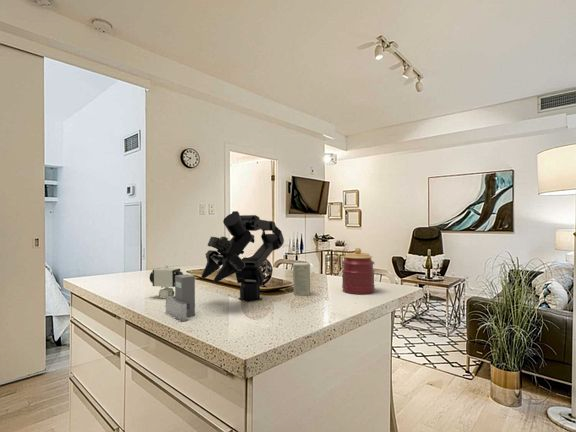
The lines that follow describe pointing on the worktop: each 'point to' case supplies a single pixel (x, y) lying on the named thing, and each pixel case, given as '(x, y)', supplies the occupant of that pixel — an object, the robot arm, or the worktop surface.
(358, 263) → the canister
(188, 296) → the block
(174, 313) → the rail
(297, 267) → the skincare box
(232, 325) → the worktop surface
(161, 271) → the pneumatic valve
